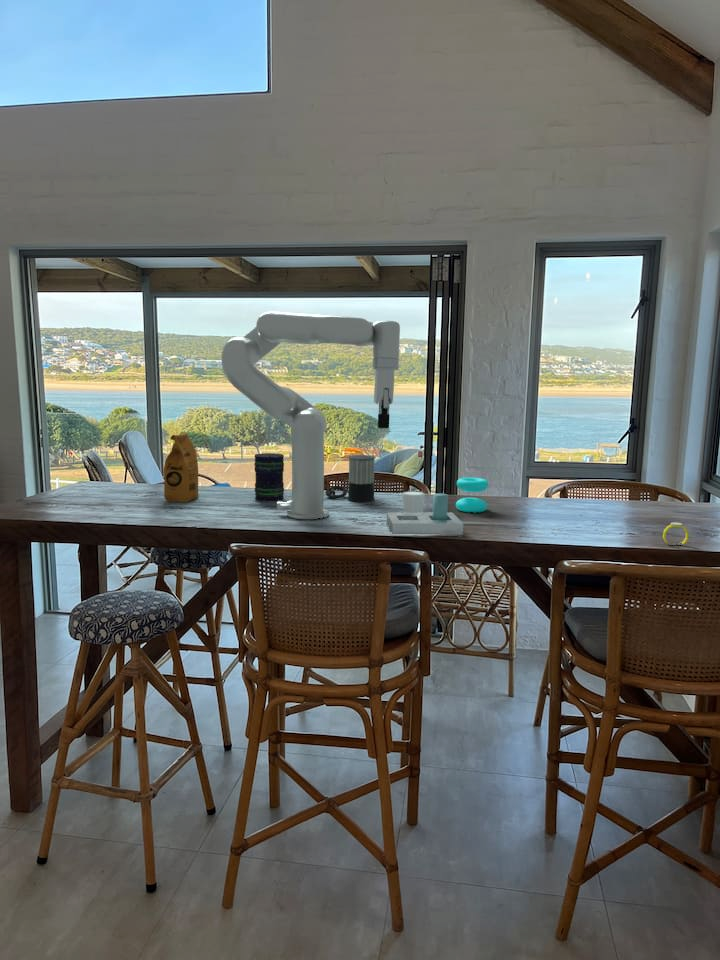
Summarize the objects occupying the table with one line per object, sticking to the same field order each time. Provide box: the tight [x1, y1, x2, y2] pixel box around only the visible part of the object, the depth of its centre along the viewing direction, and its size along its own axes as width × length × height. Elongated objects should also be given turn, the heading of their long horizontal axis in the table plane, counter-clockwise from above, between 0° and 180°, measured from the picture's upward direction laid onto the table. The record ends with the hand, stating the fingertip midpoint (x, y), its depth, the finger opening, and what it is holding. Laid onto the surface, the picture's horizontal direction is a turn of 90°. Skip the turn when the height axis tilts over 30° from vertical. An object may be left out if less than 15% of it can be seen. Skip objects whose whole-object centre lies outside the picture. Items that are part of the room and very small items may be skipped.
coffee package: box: [163, 431, 200, 503], centre depth 222 cm, size 10×12×22 cm
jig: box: [386, 511, 464, 536], centre depth 186 cm, size 19×14×4 cm
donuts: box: [455, 476, 489, 514], centre depth 214 cm, size 10×10×10 cm
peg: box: [432, 493, 449, 520], centre depth 186 cm, size 4×4×10 cm
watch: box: [662, 522, 690, 545], centre depth 174 cm, size 6×3×6 cm, turn 82°
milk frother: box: [325, 454, 376, 503], centre depth 228 cm, size 14×16×15 cm
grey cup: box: [402, 490, 426, 512], centre depth 204 cm, size 7×7×7 cm
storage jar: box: [254, 452, 285, 503], centre depth 226 cm, size 10×10×15 cm
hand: (383, 427), depth 198 cm, fingers closed
